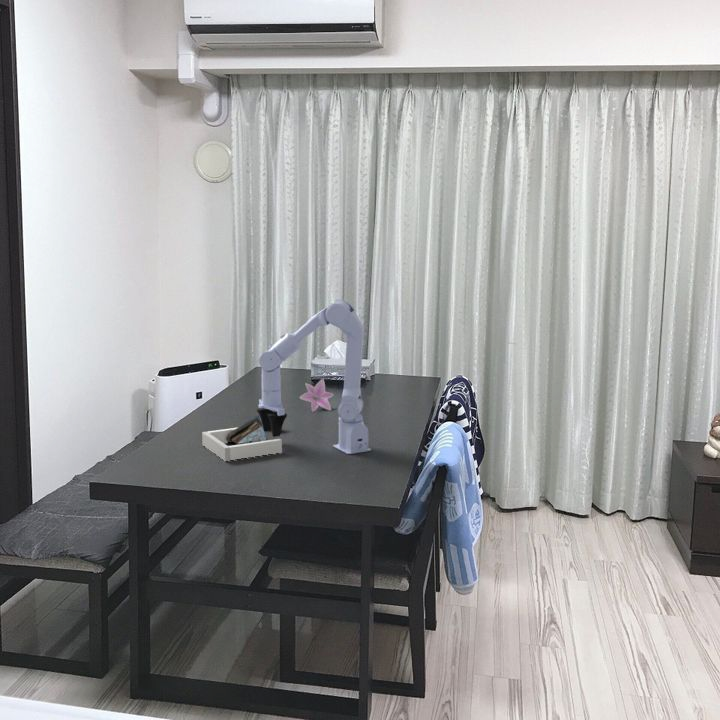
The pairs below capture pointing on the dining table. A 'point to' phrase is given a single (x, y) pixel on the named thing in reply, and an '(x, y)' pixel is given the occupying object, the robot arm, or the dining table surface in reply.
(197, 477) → the dining table surface
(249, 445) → the socket bay
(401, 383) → the dining table surface
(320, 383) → the lily
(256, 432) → the chocolate cake
